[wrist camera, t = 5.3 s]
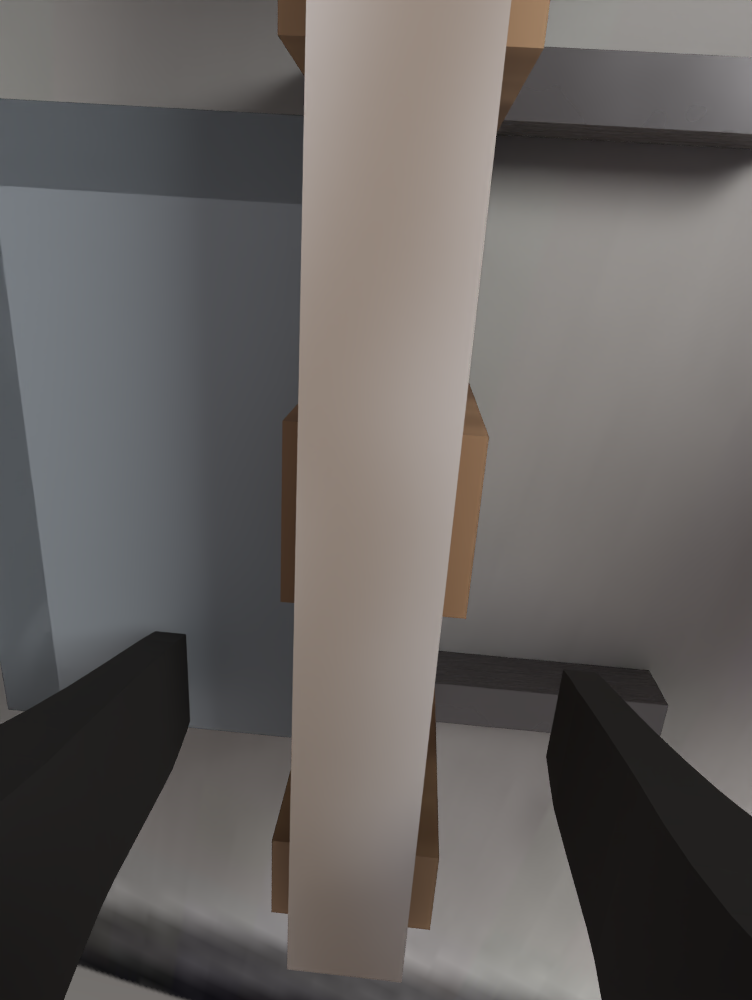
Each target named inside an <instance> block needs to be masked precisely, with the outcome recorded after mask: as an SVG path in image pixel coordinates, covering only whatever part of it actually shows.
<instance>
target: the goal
mask: <svg viewBox="0 0 752 1000" xmlns="http://www.w3.org/2000/svg"><path fill="white" fill-rule="evenodd" d="M303 138H304V116H303V115H285V114H268V113H250V112H232V111H214V110H196V109H179V108H161V107H143V106H125V105H108V104H90V103H72V102H54V101H36V100H19V99H1V98H0V663H1V669H2V675H3V681H4V687H5V693H6V699H7V705H8V709H9V710H19V711H26V710H28V709H30V708H31V707H33V706H35V705H37V704H38V703H40V702H42V701H43V700H45V699H47V698H49V697H50V696H52V695H54V694H56V693H57V692H59V691H61V690H62V689H64V688H66V687H68V686H69V685H71V684H73V683H74V682H76V681H77V680H79V679H80V678H82V677H84V676H85V675H87V674H88V673H90V672H91V671H93V670H95V669H96V668H98V667H99V666H101V665H102V664H104V663H106V662H107V661H109V660H110V659H112V658H113V657H115V656H116V655H118V654H119V653H121V652H122V651H124V650H125V649H127V648H129V647H130V646H132V645H133V644H135V643H136V642H138V641H139V640H141V639H143V638H144V637H146V636H148V635H149V634H151V633H153V632H155V631H159V632H170V633H180V634H186V643H187V664H188V685H189V705H190V723H189V726H188V727H190V728H200V729H210V730H220V731H230V732H240V733H250V734H260V735H270V736H280V737H290V738H292V697H293V647H294V603H287V602H280V590H281V499H282V421H283V420H284V418H285V417H286V416H287V415H288V414H289V413H290V412H291V411H292V410H293V408H294V407H295V406H296V405H297V404H298V392H299V342H300V291H301V240H302V189H303Z"/></svg>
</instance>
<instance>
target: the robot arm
mask: <svg viewBox="0 0 752 1000" xmlns="http://www.w3.org/2000/svg"><path fill="white" fill-rule="evenodd" d="M189 723H190V705H189V685H188V664H187V643H186V634H180V633H170V632H159V631H155V632H153V633H151V634H149V635H148V636H146V637H144V638H143V639H141V640H139V641H138V642H136V643H135V644H133V645H132V646H130V647H129V648H127V649H125V650H124V651H122V652H121V653H119V654H118V655H116V656H115V657H113V658H112V659H110V660H109V661H107V662H106V663H104V664H102V665H101V666H99V667H98V668H96V669H95V670H93V671H91V672H90V673H88V674H87V675H85V676H84V677H82V678H80V679H79V680H77V681H76V682H74V683H73V684H71V685H69V686H68V687H66V688H64V689H62V690H61V691H59V692H57V693H56V694H54V695H52V696H50V697H49V698H47V699H45V700H43V701H42V702H40V703H38V704H37V705H35V706H33V707H31V708H30V709H28V710H26V711H25V712H23V713H21V714H19V715H17V716H15V717H14V718H12V719H10V720H8V721H6V722H4V723H2V724H0V1000H64V998H65V995H66V992H67V990H68V988H69V985H70V982H71V980H72V977H73V974H74V972H75V970H76V967H77V965H78V962H79V960H80V957H81V955H82V952H83V950H84V948H85V945H86V943H87V940H88V938H89V936H90V933H91V931H92V928H93V926H94V924H95V921H96V919H97V916H98V914H99V911H100V909H101V907H102V904H103V902H104V900H105V898H106V896H107V894H108V892H109V890H110V888H111V886H112V884H113V881H114V879H115V877H116V876H117V874H118V872H119V870H120V868H121V866H122V864H123V862H124V860H125V859H126V857H127V855H128V853H129V851H130V849H131V847H132V845H133V843H134V842H135V840H136V838H137V836H138V834H139V832H140V830H141V828H142V827H143V825H144V823H145V821H146V819H147V817H148V815H149V813H150V811H151V810H152V808H153V806H154V804H155V802H156V800H157V798H158V796H159V794H160V792H161V790H162V789H163V787H164V785H165V783H166V781H167V779H168V777H169V775H170V773H171V771H172V769H173V766H174V764H175V761H176V759H177V756H178V753H179V751H180V748H181V746H182V743H183V740H184V737H185V734H186V732H187V729H188V726H189ZM546 758H547V765H548V773H549V780H550V787H551V793H552V800H553V806H554V811H555V815H556V819H557V822H558V826H559V830H560V833H561V837H562V841H563V844H564V848H565V852H566V855H567V859H568V862H569V866H570V870H571V873H572V877H573V880H574V884H575V888H576V891H577V895H578V898H579V902H580V905H581V909H582V913H583V916H584V920H585V923H586V927H587V931H588V935H589V939H590V943H591V947H592V952H593V956H594V960H595V965H596V971H597V976H598V982H599V988H600V993H601V999H602V1000H752V816H751V815H749V814H748V813H747V812H745V811H744V810H743V809H741V808H740V807H739V806H738V805H736V804H735V803H734V802H733V801H731V800H730V799H729V798H728V797H726V796H725V795H724V794H723V793H722V792H720V791H719V790H718V789H717V788H716V787H715V786H713V785H712V784H711V783H710V782H709V781H708V780H707V779H705V778H704V777H703V776H702V775H701V774H700V773H699V772H697V771H696V770H695V769H694V768H693V767H692V766H691V765H690V764H688V763H687V762H686V761H685V760H684V759H683V758H682V757H681V756H680V755H679V754H678V753H677V752H675V751H674V750H673V749H672V748H671V747H670V746H669V745H668V744H667V743H666V742H665V741H664V740H663V739H662V738H661V737H660V736H659V735H658V734H657V733H656V732H655V731H654V730H653V729H652V728H651V727H650V726H649V725H648V724H647V723H646V722H645V721H644V720H643V719H642V718H641V717H640V716H639V715H638V714H637V713H636V712H635V711H634V710H633V709H632V708H631V707H630V706H629V705H628V704H627V703H626V702H625V701H624V700H623V699H622V698H621V697H620V696H619V695H618V694H617V692H616V691H615V690H614V689H613V688H612V687H611V686H610V685H609V684H608V683H607V682H606V681H605V680H604V679H603V678H602V677H601V676H600V675H599V674H598V673H596V672H589V671H578V670H567V669H563V673H562V678H561V683H560V688H559V693H558V699H557V704H556V709H555V714H554V719H553V724H552V730H551V735H550V740H549V745H548V750H547V755H546Z"/></svg>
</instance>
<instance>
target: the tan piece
mask: <svg viewBox="0 0 752 1000" xmlns="http://www.w3.org/2000/svg"><path fill="white" fill-rule="evenodd" d="M549 4H550V0H278V36H279V38H280V39H281V41H282V42H283V44H284V45H285V47H286V49H287V50H288V52H289V53H290V55H291V56H292V58H293V59H294V61H295V62H296V64H297V66H298V67H299V69H300V70H301V72H302V73H303V75H304V76H305V88H304V138H303V189H302V240H301V291H300V342H299V392H298V404H297V405H296V406H295V407H294V408H293V410H292V411H291V412H290V413H289V414H288V415H287V416H286V417H285V418H284V420H283V421H282V499H281V590H280V602H287V603H294V647H293V697H292V748H291V771H290V775H289V778H288V782H287V786H286V790H285V794H284V797H283V801H282V805H281V809H280V813H279V816H278V820H277V824H276V828H275V831H274V835H273V839H272V912H276V913H285V914H288V951H287V969H290V970H298V971H307V972H315V973H324V974H333V975H341V976H350V977H359V978H367V979H376V980H385V981H393V982H401V981H402V972H403V964H404V955H405V946H406V937H407V928H408V927H410V928H419V929H428V930H430V924H431V916H432V909H433V901H434V893H435V885H436V878H437V870H438V862H439V839H438V798H437V757H436V716H435V678H436V669H437V660H438V651H439V642H440V633H441V624H442V617H453V618H464V619H466V614H467V606H468V598H469V590H470V582H471V574H472V566H473V558H474V550H475V543H476V535H477V527H478V519H479V511H480V503H481V495H482V487H483V479H484V472H485V464H486V456H487V448H488V440H489V436H488V433H487V430H486V428H485V425H484V422H483V420H482V417H481V414H480V411H479V409H478V406H477V403H476V401H475V398H474V395H473V393H472V390H471V387H470V384H469V374H470V365H471V356H472V347H473V338H474V329H475V321H476V312H477V303H478V294H479V285H480V276H481V267H482V258H483V249H484V240H485V231H486V222H487V213H488V204H489V195H490V187H491V178H492V169H493V160H494V151H495V142H496V133H497V131H498V130H499V128H500V126H501V124H502V122H503V121H504V119H505V117H506V115H507V113H508V112H509V110H510V108H511V106H512V104H513V103H514V101H515V99H516V97H517V95H518V94H519V92H520V90H521V88H522V86H523V85H524V83H525V81H526V79H527V78H528V76H529V74H530V72H531V70H532V69H533V67H534V65H535V63H536V61H537V60H538V58H539V56H540V54H541V52H542V51H543V49H544V43H545V35H546V27H547V20H548V12H549Z"/></svg>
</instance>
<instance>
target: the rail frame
mask: <svg viewBox="0 0 752 1000" xmlns="http://www.w3.org/2000/svg"><path fill="white" fill-rule="evenodd" d="M496 135H511V136H528V137H546V138H564V139H581V140H599V141H617V142H634V143H652V144H669V145H687V146H705V147H722V148H740V149H752V57H736V56H717V55H697V54H677V53H657V52H638V51H618V50H598V49H578V48H558V47H544V49H543V51H542V52H541V54H540V56H539V58H538V60H537V61H536V63H535V65H534V67H533V69H532V70H531V72H530V74H529V76H528V78H527V79H526V81H525V83H524V85H523V86H522V88H521V90H520V92H519V94H518V95H517V97H516V99H515V101H514V103H513V104H512V106H511V108H510V110H509V112H508V113H507V115H506V117H505V119H504V121H503V122H502V124H501V126H500V128H499V130H498V131H497V133H496ZM563 669H567V670H578V671H589V672H596V673H598V674H599V675H600V676H601V677H602V678H603V679H604V680H605V681H606V682H607V683H608V684H609V685H610V686H611V687H612V688H613V689H614V690H615V691H616V692H617V694H618V695H619V696H620V697H621V698H622V699H623V700H624V701H625V702H626V703H627V704H628V705H629V706H630V707H631V708H632V709H633V710H634V711H635V712H636V713H637V714H638V715H639V716H640V717H641V718H642V719H643V720H644V721H645V722H646V723H647V724H648V725H649V726H650V727H651V728H652V729H653V730H654V731H655V732H656V733H657V734H658V735H659V736H660V735H661V731H662V727H663V723H664V720H665V716H666V712H667V708H668V704H667V702H666V701H665V699H664V697H663V695H662V693H661V691H660V690H659V688H658V686H657V684H656V682H655V681H654V679H653V677H652V675H651V673H650V671H648V670H637V669H626V668H615V667H604V666H594V665H583V664H572V663H561V662H550V661H540V660H529V659H518V658H507V657H496V656H486V655H475V654H464V653H453V652H443V651H438V660H437V669H436V678H435V716H436V722H445V723H455V724H465V725H476V726H486V727H496V728H506V729H517V730H527V731H537V732H547V733H551V730H552V724H553V719H554V714H555V709H556V704H557V699H558V693H559V688H560V683H561V678H562V673H563Z"/></svg>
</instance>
